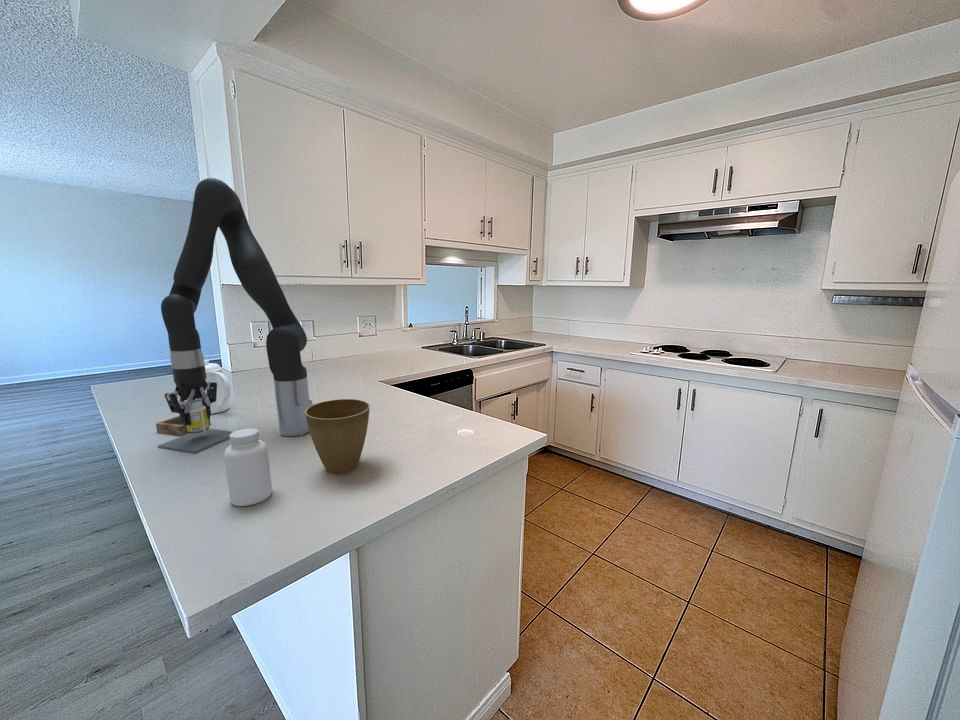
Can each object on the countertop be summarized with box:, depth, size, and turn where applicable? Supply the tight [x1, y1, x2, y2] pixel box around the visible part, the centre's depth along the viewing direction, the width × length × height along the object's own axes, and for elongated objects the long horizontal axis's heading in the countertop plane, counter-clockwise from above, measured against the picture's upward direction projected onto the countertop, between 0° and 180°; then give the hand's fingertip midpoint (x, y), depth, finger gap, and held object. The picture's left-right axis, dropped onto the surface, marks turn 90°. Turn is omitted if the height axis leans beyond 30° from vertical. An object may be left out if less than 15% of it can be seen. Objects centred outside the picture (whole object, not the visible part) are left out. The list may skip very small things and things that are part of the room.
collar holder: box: [155, 415, 212, 437], centre depth 123 cm, size 10×10×3 cm
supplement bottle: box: [187, 400, 210, 435], centre depth 113 cm, size 5×5×10 cm
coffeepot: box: [195, 359, 231, 415], centre depth 139 cm, size 11×25×19 cm, turn 62°
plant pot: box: [305, 398, 371, 476], centre depth 96 cm, size 15×15×16 cm
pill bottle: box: [223, 427, 273, 507], centre depth 83 cm, size 8×8×15 cm
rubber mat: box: [157, 428, 234, 455], centre depth 114 cm, size 14×14×1 cm
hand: (197, 421), depth 113 cm, fingers closed on supplement bottle, 5 cm apart
